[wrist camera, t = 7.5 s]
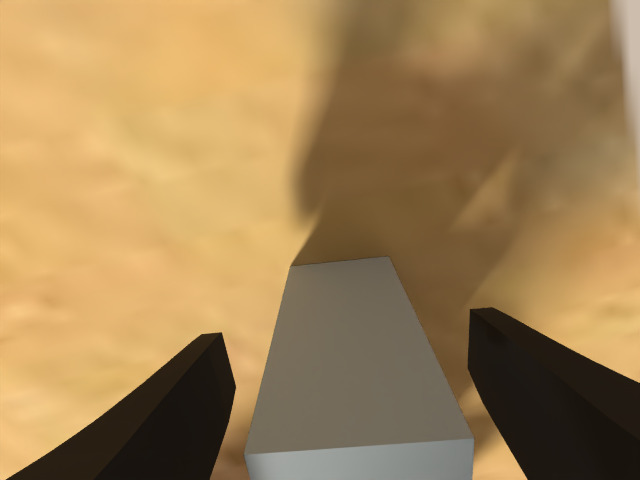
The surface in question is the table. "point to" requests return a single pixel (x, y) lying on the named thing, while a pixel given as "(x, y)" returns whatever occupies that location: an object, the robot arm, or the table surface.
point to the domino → (354, 385)
